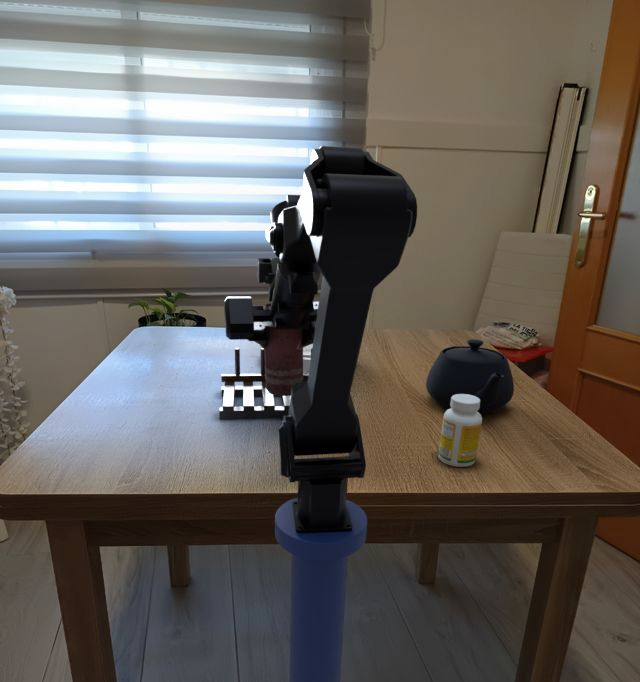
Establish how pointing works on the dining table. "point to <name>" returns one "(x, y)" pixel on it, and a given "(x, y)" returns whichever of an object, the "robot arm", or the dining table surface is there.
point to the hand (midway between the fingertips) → (282, 346)
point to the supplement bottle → (461, 431)
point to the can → (283, 359)
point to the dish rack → (251, 394)
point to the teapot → (471, 376)
